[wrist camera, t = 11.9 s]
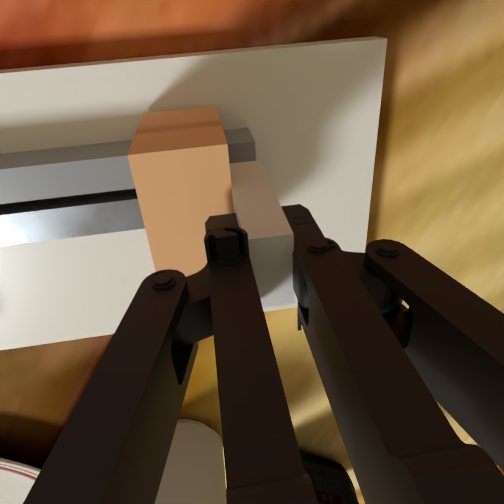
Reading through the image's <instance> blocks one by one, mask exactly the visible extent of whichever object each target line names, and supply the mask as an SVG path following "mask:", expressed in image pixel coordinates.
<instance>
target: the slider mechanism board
mask: <svg viewBox="0 0 504 504" xmlns="http://www.w3.org/2000/svg"><path fill="white" fill-rule="evenodd" d="M386 48H387V38H382V37H377V36H371V37H360V38H349V39H337V40H326V41H315V42H304V43H293V44H282V45H271V46H259V47H248V48H237V49H226V50H215V51H204V52H192V53H181V54H170V55H159V56H148V57H137V58H126V59H114V60H103V61H92V62H81V63H70V64H59V65H48V66H36V67H25V68H14V69H3V70H0V204H6V203H14V202H23V201H32V200H40V199H49V198H57V197H66V196H74V195H83V194H92V193H100V192H109V191H117V190H126V189H135V185H134V181H133V177H132V173H131V168H130V164H129V160H128V156H127V154H128V152H129V149H130V146H131V144H132V141H133V138H134V136H135V133H136V130H137V128H138V125H139V123H140V120H141V117H142V115H143V113H147V112H157V111H166V110H176V109H186V108H196V107H206V106H216V107H217V110H218V114H219V117H220V120H221V124H222V127H223V131H224V134H225V137H226V141H227V145H228V154H229V164H231V163H240V162H249V161H258V160H260V162H261V165H262V167H263V169H264V171H265V173H266V175H267V177H268V180H269V182H270V184H271V186H272V188H273V190H274V193H275V195H276V197H277V199H278V201H279V203H280V205H281V206H288V205H296V204H301V205H302V206H304V207H306V208H307V209H309V211H310V213H311V214H312V217H313V218H314V219H315V221H316V223H317V225H318V226H319V228H320V230H321V231H322V233H323V235H324V236H325V237H326V238H329V239H332V240H334V241H335V242H336V243H337V244H338V245H339V246H340V248H341V250H343V251H348V252H361V253H365V247H366V239H367V229H368V220H369V210H370V200H371V191H372V181H373V172H374V162H375V153H376V143H377V134H378V124H379V115H380V105H381V96H382V86H383V77H384V67H385V58H386ZM154 272H156V271H155V267H154V263H153V259H152V255H151V251H150V247H149V243H148V238H147V234H146V230H145V229H137V230H129V231H121V232H113V233H105V234H97V235H89V236H81V237H73V238H65V239H57V240H49V241H41V242H33V243H25V244H17V245H9V246H1V247H0V350H6V349H13V348H20V347H26V346H33V345H40V344H47V343H54V342H61V341H68V340H74V339H81V338H88V337H95V336H102V335H109V334H114V333H115V331H116V329H117V327H118V326H119V324H120V322H121V320H122V318H123V316H124V314H125V312H126V311H127V309H128V307H129V305H130V303H131V301H132V299H133V298H134V296H135V294H136V292H137V290H138V288H139V286H140V285H141V283H142V281H143V280H144V279H145V278H146V277H147V276H149V275H150V274H152V273H154ZM294 307H298V300H297V297H296V295H295V292H294V304H287V305H280V306H273V307H266V308H263V311H264V312H266V311H273V310H280V309H287V308H294Z"/></svg>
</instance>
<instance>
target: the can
mask: <svg viewBox="0 0 504 504" xmlns="http://www.w3.org/2000/svg"><path fill="white" fill-rule="evenodd" d="M155 504H227V502H226V483H225V471H224V460H223V448H222V442H221V438H220V436H219V435H218V434H217V433H216V432H215V431H214V430H213V429H211V428H209V427H208V426H207V425H205V424H203V423H201V422H199V421H194V420H190V419H178V422H177V425H176V429H175V433H174V436H173V440H172V443H171V447H170V450H169V454H168V458H167V461H166V465H165V468H164V472H163V475H162V479H161V483H160V486H159V490H158V493H157V497H156V500H155Z"/></svg>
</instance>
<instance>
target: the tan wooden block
mask: <svg viewBox="0 0 504 504" xmlns="http://www.w3.org/2000/svg"><path fill="white" fill-rule="evenodd" d="M127 156H128V160H129V164H130V168H131V173H132V177H133V181H134V185H135V189H136V193H137V197H138V201H139V206H140V210H141V214H142V218H143V222H144V226H145V230H146V234H147V238H148V243H149V247H150V251H151V255H152V259H153V263H154V267H155V271H156V272H157V271H160V270H166V269H172V270H178V271H180V272H182V273H183V274H184V275H185V276H186V277H187V276H190V275H192V274H194V273H197V272H198V271H200V270H201V269H203V268H204V267H205V266H206V264H207V257H206V251H205V244H204V237H205V235H206V231H205V222H206V221H207V219H208V218H209V216H215V215H223V214H231V213H234V205H233V195H232V184H231V174H230V164H229V154H228V145H227V141H226V137H225V134H224V131H223V127H222V124H221V120H220V117H219V114H218V110H217V107H216V106H206V107H196V108H186V109H176V110H166V111H157V112H147V113H143V115H142V117H141V120H140V123H139V125H138V128H137V130H136V133H135V136H134V138H133V141H132V144H131V146H130V149H129V152H128V154H127Z"/></svg>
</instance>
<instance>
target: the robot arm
mask: <svg viewBox="0 0 504 504" xmlns="http://www.w3.org/2000/svg"><path fill="white" fill-rule="evenodd" d="M230 174H231V184H232V195H233V205H234V213H231V214H223V215H215V216H209V218H208V219H207V221H206V222H205V231H206V235H205V237H204V244H205V251H206V257H207V264H206V266H205V267H204V268H203V269H201V270H200V271H198V272H197V273H194V274H192V275H190V276H187V277H186V276H185V275H184V274H183V273H182V272H180V271H178V270H172V269H166V270H160V271H157V272H154V273H152V274H150V275H149V276H147V277H146V278H145V279H144V280H143V281H142V283H141V285H140V286H139V288H138V290H137V292H136V294H135V296H134V298H133V299H132V301H131V303H130V305H129V307H128V309H127V311H126V312H125V314H124V316H123V318H122V320H121V322H120V324H119V326H118V327H117V329H116V331H115V333H114V335H113V337H112V339H111V340H110V342H109V344H108V346H107V348H106V350H105V352H104V353H103V355H102V357H101V359H100V361H99V363H98V365H97V366H96V368H95V370H94V372H93V374H92V376H91V378H90V380H89V381H88V383H87V385H86V387H85V389H84V391H83V393H82V394H81V396H80V398H79V400H78V402H77V404H76V406H75V407H74V409H73V411H72V413H71V415H70V417H69V419H68V421H67V422H66V424H65V426H64V428H63V430H62V432H61V434H60V435H59V437H58V439H57V441H56V443H55V445H54V447H53V448H52V450H51V452H50V454H49V456H48V458H47V460H46V461H45V463H44V465H43V467H42V469H41V471H40V473H39V475H38V476H37V478H36V480H35V482H34V484H33V486H32V488H31V489H30V491H29V493H28V495H27V497H26V499H25V501H24V502H23V504H155V500H156V497H157V493H158V490H159V486H160V483H161V479H162V475H163V472H164V468H165V465H166V461H167V458H168V454H169V450H170V447H171V443H172V440H173V436H174V433H175V429H176V425H177V422H178V418H179V415H180V411H181V408H182V404H183V400H184V397H185V393H186V390H187V386H188V382H189V379H190V375H191V372H192V368H193V365H194V361H195V357H196V354H197V350H198V341H200V340H202V339H205V338H207V337H210V336H212V335H214V344H215V356H216V367H217V378H218V390H219V401H220V412H221V424H222V435H223V446H224V458H225V469H226V481H227V489H226V502H227V504H318V502H317V498H316V494H315V491H314V488H313V484H312V482H311V479H310V477H309V475H308V474H306V473H305V470H304V467H303V464H302V460H301V456H300V452H299V448H298V444H297V440H296V437H295V433H294V429H293V425H292V421H291V417H290V413H289V409H288V405H287V401H286V397H285V393H284V390H283V386H282V382H281V378H280V374H279V370H278V366H277V362H276V358H275V354H274V350H273V346H272V343H271V339H270V335H269V331H268V327H267V323H266V319H265V315H264V311H263V308H266V307H273V306H280V305H287V304H294V292H295V295H296V297H297V300H298V330H301V325H302V326H303V329H304V332H305V335H306V338H307V340H308V343H309V346H310V349H311V352H312V355H313V357H314V360H315V363H316V366H317V369H318V371H319V374H320V377H321V380H322V383H323V385H324V388H325V391H326V394H327V397H328V400H329V402H330V405H331V408H332V411H333V414H334V416H335V419H336V422H337V425H338V428H339V430H340V433H341V436H342V439H343V442H344V444H345V447H346V450H347V453H348V456H349V459H350V461H351V464H352V467H353V470H354V473H355V475H356V478H357V481H358V484H359V487H360V489H361V492H362V495H363V498H364V501H365V504H504V476H503V474H502V473H501V471H500V470H499V468H498V467H497V465H498V466H499V467H500V468H501V469H502V470H503V471H504V314H503V313H502V312H501V311H499V310H498V309H496V308H495V307H493V306H492V305H491V304H489V303H488V302H486V301H485V300H483V299H482V298H480V297H479V296H478V295H476V294H475V293H473V292H472V291H470V290H469V289H468V288H466V287H465V286H463V285H462V284H460V283H459V282H458V281H456V280H455V279H453V278H452V277H450V276H449V275H447V274H446V273H445V272H443V271H442V270H440V269H439V268H437V267H436V266H435V265H433V264H432V263H430V262H429V261H427V260H426V259H425V258H423V257H422V256H420V255H419V254H417V253H416V252H414V251H413V250H412V249H410V248H409V247H407V246H406V245H404V244H402V243H400V242H397V241H393V240H389V239H387V240H386V239H381V240H375V241H372V242H370V243H368V245H367V246H366V247H365V253H361V252H348V251H343V250H341V248H340V246H339V245H338V244H337V243H336V242H335V241H334V240H332V239H329V238H326V237H325V236H324V235H323V233H322V231H321V230H320V228H319V226H318V225H317V223H316V221H315V219H314V218H313V217H312V214H311V213H310V211H309V209H307V208H306V207H304V206H302V205H301V204H296V205H288V206H281V205H280V203H279V201H278V199H277V197H276V195H275V193H274V190H273V188H272V186H271V184H270V182H269V180H268V177H267V175H266V173H265V171H264V169H263V167H262V165H261V162H260V160H258V161H249V162H240V163H231V164H230ZM402 300H404V301H405V302H406V303H407V304H408V305H409V309H408V308H406V307H405V306H404V305H403V304H402ZM433 397H434V398H435V399H436V401H437V402H438V403H439V404H440V405H441V406H442V407H443V408H444V409H445V410H446V411H447V412H448V413H449V414H450V415H451V416H452V417H453V419H454V420H455V421H456V422H457V423H458V424H459V425H460V426H461V427H462V428H463V429H464V430H465V431H466V432H467V433H468V434H469V435H470V437H471V438H472V439H473V440H474V441H475V442H476V443H477V444H478V445H479V446H480V447H481V448H480V447H479V446H478V445H472V444H465V443H464V442H463V441H461V440H460V438H459V437H458V436H457V434H456V433H455V431H454V430H453V428H452V427H451V425H450V423H449V422H448V420H447V418H446V417H445V415H444V414H443V412H442V410H441V409H440V407H439V406H438V404H437V402H436V401H435V399H434V398H433ZM495 463H496V464H497V465H496V464H495Z"/></svg>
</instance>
